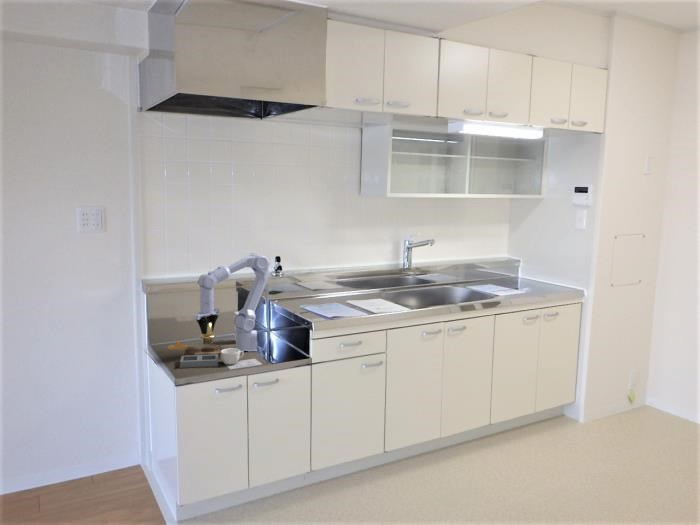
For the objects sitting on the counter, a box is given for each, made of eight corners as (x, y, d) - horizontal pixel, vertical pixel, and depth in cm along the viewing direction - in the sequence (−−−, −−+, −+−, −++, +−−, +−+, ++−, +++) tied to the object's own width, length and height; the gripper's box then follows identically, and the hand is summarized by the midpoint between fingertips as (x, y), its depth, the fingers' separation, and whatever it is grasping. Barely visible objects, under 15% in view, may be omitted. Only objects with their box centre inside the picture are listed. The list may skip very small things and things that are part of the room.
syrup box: (236, 343, 271) (236, 313, 269) (233, 340, 277) (233, 311, 275) (248, 342, 274) (248, 313, 271) (245, 339, 279) (245, 310, 277)
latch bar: (187, 347, 251) (187, 340, 251) (187, 348, 249) (187, 341, 249) (168, 347, 250) (168, 341, 249) (168, 349, 247) (168, 342, 247)
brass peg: (215, 340, 256) (215, 320, 255) (215, 344, 249) (215, 324, 248) (199, 340, 254) (199, 320, 253) (198, 345, 248) (198, 324, 246)
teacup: (225, 367, 238) (225, 354, 237) (217, 362, 244) (217, 350, 243) (247, 363, 244) (247, 350, 243) (239, 358, 250) (239, 346, 249)
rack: (218, 359, 247) (218, 354, 247) (217, 366, 239) (217, 360, 238) (181, 361, 244) (181, 355, 243) (180, 367, 236) (180, 361, 235)
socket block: (220, 351, 259) (220, 343, 258) (220, 358, 248) (220, 350, 248) (186, 352, 256) (185, 344, 255) (184, 360, 245) (184, 352, 245)
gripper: (203, 306, 241) (204, 337, 243) (224, 299, 254) (225, 329, 256) (190, 304, 244) (190, 335, 246) (211, 298, 257) (212, 327, 259)
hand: (207, 332), depth 251 cm, fingers closed on brass peg, 4 cm apart
